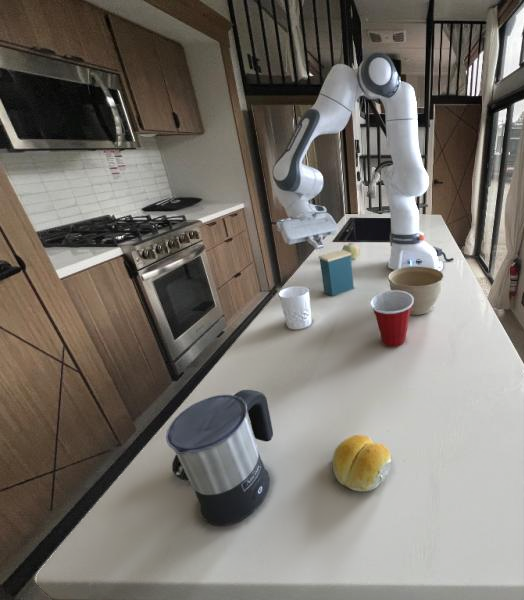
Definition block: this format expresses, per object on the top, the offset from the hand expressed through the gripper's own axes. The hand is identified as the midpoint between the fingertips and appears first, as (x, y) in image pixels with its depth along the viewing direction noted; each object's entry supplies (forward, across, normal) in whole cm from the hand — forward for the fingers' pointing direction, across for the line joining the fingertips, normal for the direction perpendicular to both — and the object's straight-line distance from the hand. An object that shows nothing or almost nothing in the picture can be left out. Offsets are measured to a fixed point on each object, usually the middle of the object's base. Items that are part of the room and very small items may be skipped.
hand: (320, 247), depth 112 cm
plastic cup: (+42, -10, -22) cm, 48 cm away
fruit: (-2, +24, +21) cm, 32 cm away
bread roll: (+58, -38, -38) cm, 79 cm away
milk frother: (+48, -54, -28) cm, 78 cm away
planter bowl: (+36, +8, -17) cm, 41 cm away
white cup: (+24, -22, -4) cm, 32 cm away
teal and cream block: (+16, 0, +4) cm, 16 cm away
